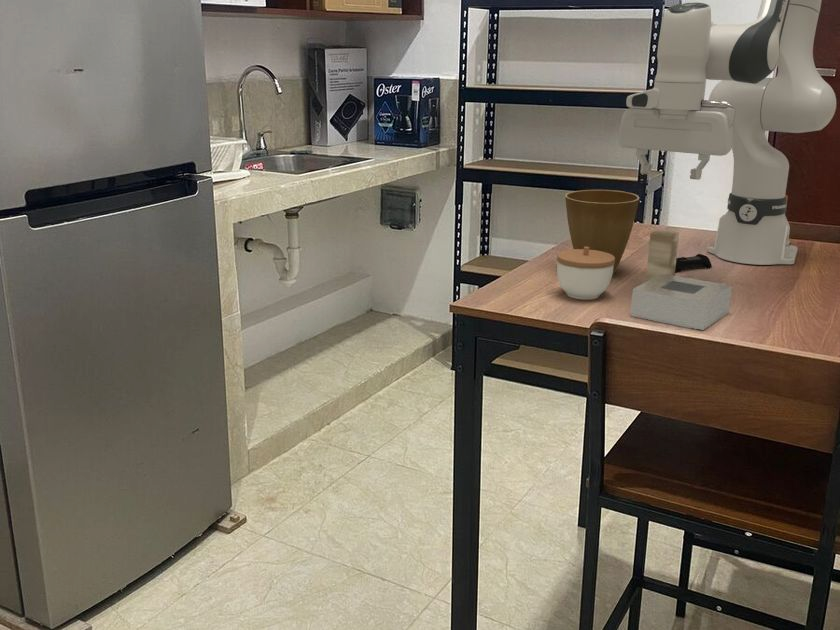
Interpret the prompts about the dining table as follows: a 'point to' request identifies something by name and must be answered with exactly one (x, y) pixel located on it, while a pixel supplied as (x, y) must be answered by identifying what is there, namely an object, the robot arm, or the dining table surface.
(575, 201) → the plant pot
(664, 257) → the ash peg
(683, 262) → the electric trimmer
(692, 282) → the socket block
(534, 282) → the dining table surface
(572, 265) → the lidded jar
